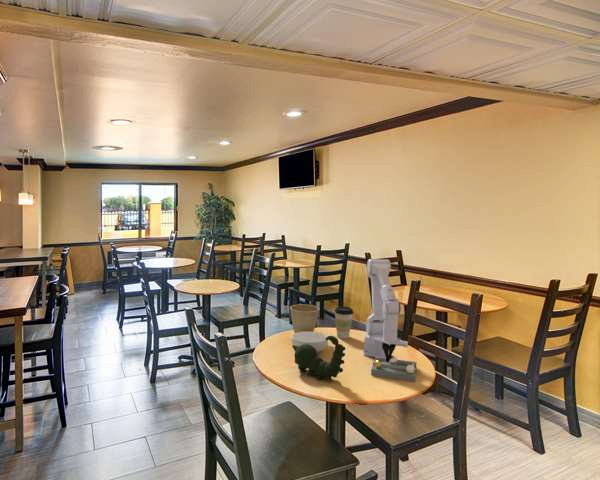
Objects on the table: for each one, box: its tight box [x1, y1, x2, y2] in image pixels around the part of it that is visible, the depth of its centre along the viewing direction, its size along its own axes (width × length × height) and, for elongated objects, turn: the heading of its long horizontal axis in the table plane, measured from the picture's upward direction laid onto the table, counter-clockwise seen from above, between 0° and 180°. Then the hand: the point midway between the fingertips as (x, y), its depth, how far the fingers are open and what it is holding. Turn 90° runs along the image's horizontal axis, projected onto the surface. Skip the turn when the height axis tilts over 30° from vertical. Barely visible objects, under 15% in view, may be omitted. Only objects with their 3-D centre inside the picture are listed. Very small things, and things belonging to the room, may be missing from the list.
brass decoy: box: [374, 360, 382, 368], centre depth 160 cm, size 3×3×3 cm
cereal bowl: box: [291, 331, 329, 353], centre depth 184 cm, size 17×17×7 cm
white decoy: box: [406, 365, 414, 373], centre depth 156 cm, size 3×3×3 cm
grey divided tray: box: [370, 356, 417, 383], centre depth 163 cm, size 17×14×4 cm
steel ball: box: [388, 354, 398, 365], centre depth 164 cm, size 4×4×4 cm
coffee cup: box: [334, 306, 354, 340], centre depth 206 cm, size 10×10×15 cm
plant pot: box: [289, 303, 320, 334], centre depth 201 cm, size 15×15×16 cm
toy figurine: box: [291, 335, 346, 382], centre depth 157 cm, size 9×19×25 cm
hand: (388, 361), depth 164 cm, fingers closed, pressing on steel ball
